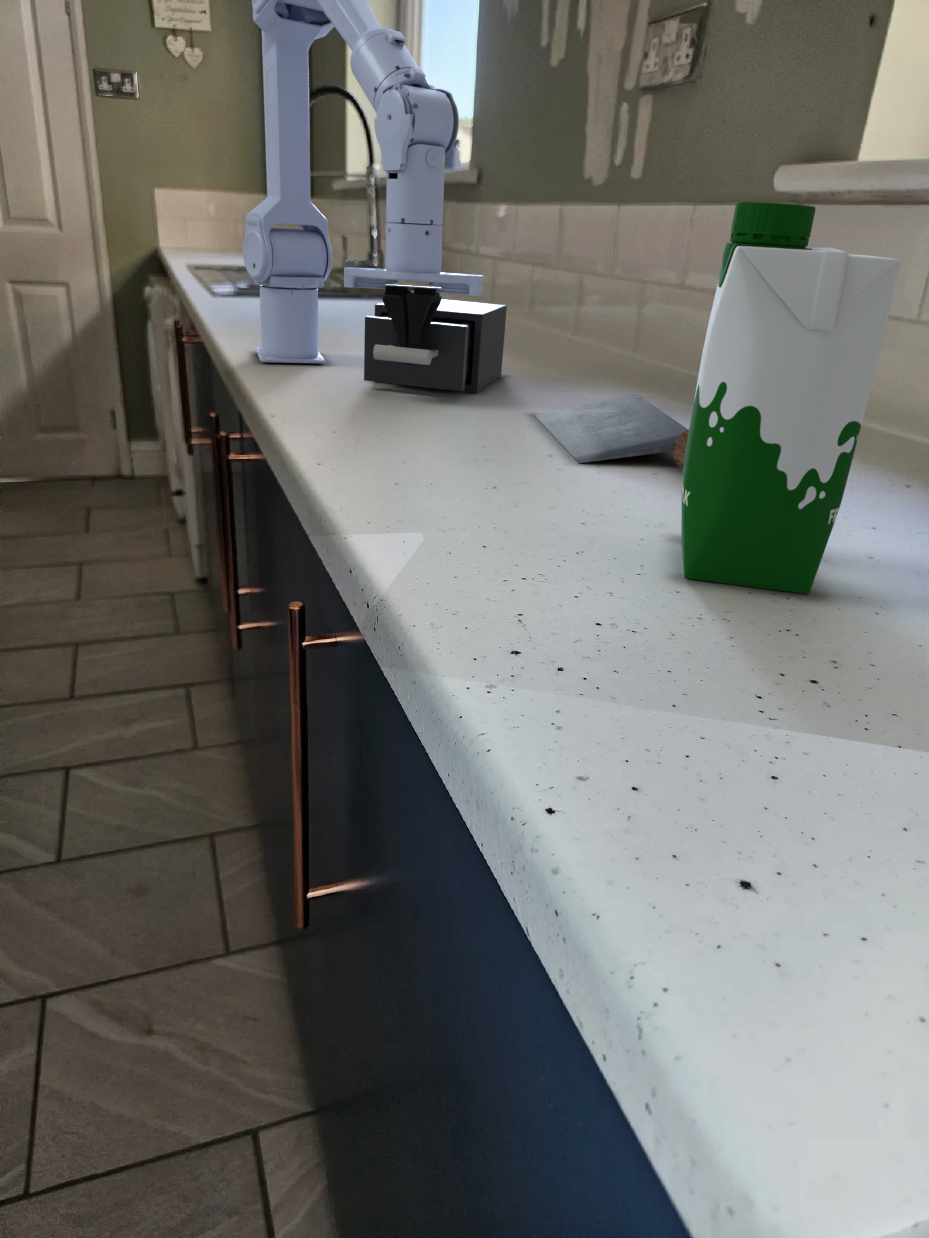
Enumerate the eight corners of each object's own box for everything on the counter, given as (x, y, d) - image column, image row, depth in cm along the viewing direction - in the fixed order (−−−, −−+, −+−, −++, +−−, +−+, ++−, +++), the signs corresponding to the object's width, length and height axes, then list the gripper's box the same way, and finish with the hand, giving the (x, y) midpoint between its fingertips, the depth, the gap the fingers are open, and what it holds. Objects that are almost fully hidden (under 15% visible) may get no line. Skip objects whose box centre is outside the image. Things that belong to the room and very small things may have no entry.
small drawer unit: (476, 393, 100) (482, 314, 96) (372, 381, 102) (374, 304, 99) (501, 375, 112) (507, 305, 108) (407, 365, 114) (410, 296, 111)
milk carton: (666, 534, 58) (723, 203, 50) (807, 552, 57) (890, 214, 48) (668, 582, 50) (735, 199, 42) (831, 604, 49) (935, 211, 40)
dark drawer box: (450, 399, 91) (454, 331, 88) (348, 387, 93) (348, 320, 90) (487, 375, 106) (491, 316, 103) (398, 365, 109) (400, 307, 106)
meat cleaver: (532, 415, 91) (536, 375, 89) (636, 418, 92) (642, 380, 91) (632, 524, 61) (641, 468, 59) (783, 526, 62) (796, 472, 61)
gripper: (332, 220, 86) (333, 362, 91) (474, 227, 83) (467, 373, 88) (357, 222, 92) (357, 355, 98) (490, 229, 89) (483, 365, 95)
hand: (411, 363), depth 93 cm, fingers closed, pressing on dark drawer box
